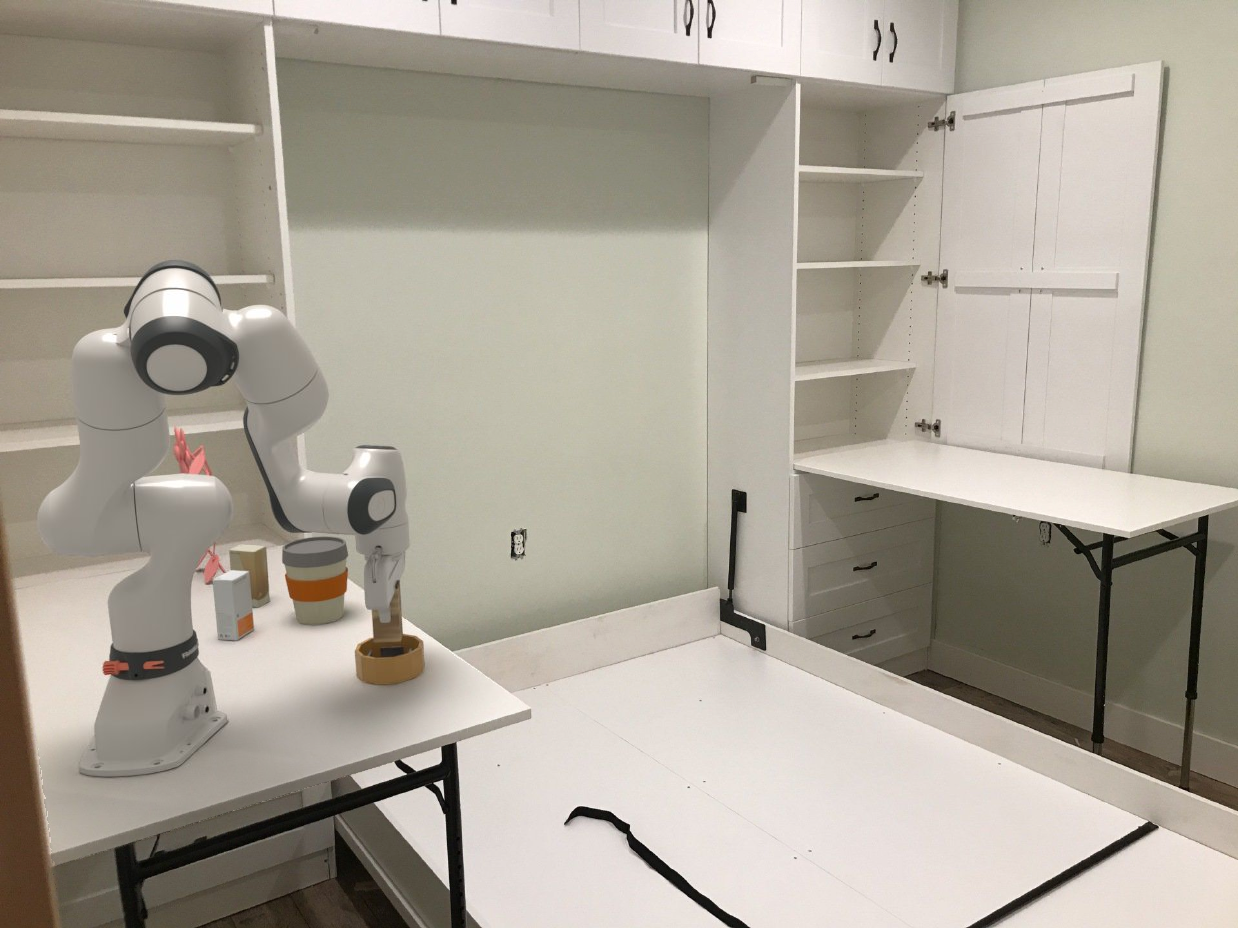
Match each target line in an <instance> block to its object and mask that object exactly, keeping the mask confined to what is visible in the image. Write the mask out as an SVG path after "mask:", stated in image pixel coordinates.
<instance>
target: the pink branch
mask: <svg viewBox="0 0 1238 928" xmlns="http://www.w3.org/2000/svg"><path fill="white" fill-rule="evenodd" d="M173 431H174V432H173V433H174V436H175V437H174V438H175V441H174V444H173V445H174V447H173V455H174V457H175V460H176V461H177V463H178V466H179V471H180V473H179V474H181V473H185V474H199V475H201V472H204V473H205V475H208V476H214V475H213V473H212V471H211V469H210V465H209V463H208V461H207V458H206V454H205V450H204V449H205V447H204V446H203V445H200V446H199V448H197V449H196V450H195V451H194V452H193V453H192V452H191V450H190V448H189V446H188V445H187V438H186V434H185V431H184V430H183V428H181V427H180V429H178V427H177V426H174V430H173ZM204 466H205V467H204ZM211 547H212V545H211V546H210V547H209V548H208V550H207V551H206V552H205V553H204V555H203V556H202V558H201V559H200V561H199V563H198V565H197V567H196V569H197V568H198V567H200V565H201V563H202V562H203V561H204V559H205V558H206V556H207V554H209V555H210V557H209V559H208V560H207V562H206V564H205V567H204V572H203V573H204V581H205V584H209V583H210V582H211V581H212V580H213V578H214V577H215V575H216V574H217V572H218V571H219V569H220V570H221V572H222V574H224V573H227V572H226V570H225V569H224V567H223V566H222V565H221V563H220V557H219V555H218V554H216V552H215V551H216V542H214V543H213V550H212V551H211V550H210V549H211Z"/></svg>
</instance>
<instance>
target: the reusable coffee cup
mask: <svg viewBox="0 0 1238 928" xmlns="http://www.w3.org/2000/svg"><path fill="white" fill-rule="evenodd" d="M347 546H348V545H347V542H346V540H345V539H344V538H342V537H337V536H328V535H327V536H324V535H323V536H311V537H303V538H299V539H296V540H293V541H292V540H291V541H289V542H287V543H285V544H284V545H283V546H282V548H281V549H282V552H281V553H282V555H281V556H282V557H281V561H282V564H283V565H284V568H285V575H284V578H285V582H286V587H287V591H288V595H289V598H290V599H291V600H292V602H293V607H294V612H295V616H296V620H297V622H298V623H299V624H302V625H309V626H310V625H313V626H314V625H315V626H316V625H325V624H330V623H333V622H337V621H338V620H340V619H341V618H343V616H344V611H345V609H344V607H345V593H347V591H348V575H349V569H348V567H347V558H348V556H349V552H348V547H347Z"/></svg>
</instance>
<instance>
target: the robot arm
mask: <svg viewBox="0 0 1238 928" xmlns="http://www.w3.org/2000/svg"><path fill="white" fill-rule="evenodd" d="M123 315H124V316H125V318H126V319H125V321H124V323H123V324H122V325H120V326H117V327H111V328H103V329H98V330H93V331H92V332H89V333H87V334H86V335H84V336H82V337H81V339H79V340H78V341H77V343H76V344H75V346H74V348H73V350H72V356H71V368H70V372H71V373H70V374H71V375H70V376H71V377H70V378H71V379H70V381H71V396H72V403H73V408H74V415H75V419H76V424H77V429H78V438H79V439H78V441H79V449H80V450H79V460H78V462H77V465H76V467H75V469H74V470H73V472H72V473H71V475H70V476H69V477H68V478H67V479H66V480H65V481H64V482H63V483H62V484H60V485H59V486H57V487H56V488H54V489H53V490H52V489H51V491H50V492H49V493H47V495H46V496H45V497H44V499H43V501H42V502H41V504H40V506H39V508H38V512H37V518H36V525H37V526H36V527H37V530H38V534H39V537H40V538H41V540H42V542H43V543H44V545H45V546H46V547H47V548H48V549H49V550H50V551H52V552H53V554H55V555H57V556H62V557H63V556H64V557H76V558H79V557H80V558H100V557H107V556H109V557H110V556H116V555H118V556H119V555H124V554H125V555H126V554H134V553H135V554H136V553H141V552H142V553H148V555H150V558H149V560H148V562H147V563H146V564H145V565H144V566H143V567H141V568H139V569H138V570H136V571H134V572H132V573H131V574H129V575H127V576H126V577H125V578H122V579H121V580H120V581H119V582H118V583H117V584H116V585H114V586H113V588H112V590H111V591H110V593H109V595H108V598H107V609H108V617H109V624H110V625H109V626H110V632H111V640H112V643H111V644H110V646H109V647H110V650H109V655H108V656H109V657H108V660H105V661H104V662H103V663H102V674H103V675H104V676H109V678H108V681H107V684H106V687H105V690H104V693H103V696H102V699H101V701H100V705H99V709H98V711H97V714H96V718H95V722H94V725H93V730H94V731H93V733H94V734H93V736H92V738H91V740H90V742H89V744H88V746H87V748H86V749H85V752H84V754H83V756H82V757H81V760H80V762H79V764H78V773H80V774H83V775H87V776H92V777H125V776H138V775H139V776H140V775H147V774H153V773H159V772H162V771H167V770H171V769H173V768H177V767H180V765H182V764H183V763H185V761H186V760H188V759H189V758H190V757H191V756H192V755H193V754H194V753H195V752H197V751H198V749H199V748H200V747H202V746H203V745H204V744H205V743H206V742H207V741H208V740H209V739H211V737H213V736H214V734H215V733H217V732H218V731H219V730H220V729H221V728H222V727H223V726H224V725H225V724H226V723H228V721H229V720H228V715H227V713H225V712H223V711H221V710H218V707H217V706H218V705H217V700H216V696H215V690H214V683H213V679H212V673H211V671H210V670H209V669H208V668H207V667H206V666H205V665H204V664H203V663H202V662H201V660H200V659H199V654H200V649H199V639H198V636H197V631H196V630H195V629H194V626H193V625H194V624H193V618H192V617H193V615H192V585H193V584H192V583H193V578H194V575H195V572H196V569H197V568H198V567H197V565H198V563H199V561H200V559H201V558H202V556H203V555H204V553H205V552H206V551H207V550H208V548H209V547H210V546H211V547H212V545H214V542H215V543H216V542H217V541H218V540H220V539H221V538H222V537H223V536H224V534H225V533H226V532H227V531H228V529H229V527H230V525H231V523H232V520H233V516H234V502H233V498H232V495H231V493H230V491H229V489H228V487H227V486H226V485H225V484H224V483H223V482H222V481H221V480H220V479H219V478H218V477H216V476H214V475H213V476H208V475H206V474H185V473H172V474H164V475H163V474H162V475H161V474H160V475H151V476H147V475H150V474H152V473H153V472H154V471H155V470H157V469H158V467H159V466H160V465H161V464H162V463H163V462H164V460H165V459H166V457H167V456H168V454H169V451H170V448H171V444H172V443H171V435H170V427H169V420H168V413H167V406H166V405H167V404H166V397H165V395H168V396H169V395H170V396H187V395H193V394H196V393H199V392H203V391H205V390H208V389H209V388H212V387H221V386H224V385H225V384H226V383H227V382H228V381H229V380H230V379H232V380H233V382H234V383H235V386H236V387H237V389H238V390H239V392H240V394H241V396H242V398H243V399H244V401H245V403H246V406H247V407H246V408H245V409H244V413H243V416H242V418H243V419H242V422H243V423H242V424H243V429H244V433H245V436H246V440H247V442H248V445H249V447H250V450H251V453H252V455H253V458H254V460H255V462H256V465H257V467H258V469H259V473H260V475H261V477H262V480H263V482H264V484H265V488H266V490H267V493H268V496H269V503H270V508H271V512H272V515H273V517H274V519H275V520H276V522H277V523H278V524H279V526H280V527H281V528H282V529H283V530H284V531H286V532H288V533H291V534H302V533H303V534H304V533H309V534H310V533H317V534H318V533H320V534H328V535H329V534H330V535H345V536H355V538H354V539H355V549H356V552H357V553H358V554H361V555H364V561H366V562H365V564H364V569H363V582H364V583H363V584H364V587H363V588H364V590H363V591H364V604H365V607H366V609H367V610H369V611H372V610H378V612H379V618H380V622H381V623H388V622H390V620H391V618H392V615H391V610H390V602H391V600H392V597H393V595H394V593H395V585H396V583H397V581H398V580H400V581H401V579H402V578H403V574H404V573H405V566H406V551H407V550H408V549H410V547H411V541H410V539H411V538H410V526H409V525H410V524H409V516H408V514H407V509H406V500H407V496H408V495H407V493H408V492H407V481H406V472H405V467H404V462H403V458H402V454H401V453H400V452H401V451H400V450H399V449H397V448H396V447H394V446H391V445H378V444H377V445H374V444H373V445H370V444H363V445H362V444H361V445H358V446H356V447H353V450H352V457H351V464H350V465H349V466H348V468H346V469H345V470H344V471H342V473H331V472H329V473H328V472H317V471H313V470H309V469H308V468H305V467H303V466H302V465H300V464H299V462H298V461H299V460H298V459H297V456H296V454H295V451H294V448H293V445H292V442H291V440H290V439H292V438H296V437H298V436H300V435H302V434H305V433H306V432H308V431H309V430H310V429H311V428H312V427H314V425H316V423H318V422H319V420H320V419H321V418H322V416H323V415H324V413H325V411H326V409H327V406H328V402H329V397H330V394H329V387H328V384H327V380H326V378H325V376H324V373H323V371H322V370H321V367H320V366H319V363H318V362H317V361H316V359H315V357H314V354H313V353H312V351H311V349H310V348H309V346H308V344H307V343H306V341H305V340H304V339H303V337H302V336H301V334H300V333H299V331H298V330H297V328H296V327H295V325H294V324H293V323H292V322H291V321H290V320H289V319H288V317H287V316H286V315H285V314H284V313H283V312H282V311H281V310H280V309H278V308H276V307H274V306H271V305H267V304H254V305H249V306H246V307H243V308H240V309H238V310H237V309H236V310H233V309H232V310H230V309H226V308H223V309H222V298H221V294H220V291H219V288H218V287H217V285H216V283H215V281H214V279H213V278H212V277H211V276H210V275H209V274H208V272H206V270H205V269H203V268H201V267H200V266H199V265H197V264H196V263H192V262H191V261H186V260H180V259H169V260H164V261H161V262H159V263H156V264H155V265H153V266H152V267H150V268H149V269H148V270H147V271H146V272H145V273H144V274H143V276H142V277H141V278H140V280H139V281H138V283H137V284H136V286H135V288H134V290H133V292H132V293H131V296H130V298H129V299H128V301H127V303H126V304H125V306H124V309H123ZM226 376H227V377H226ZM224 378H225V379H224ZM223 379H224V380H223ZM211 547H210V548H211ZM196 567H197V568H196ZM375 582H376V583H375Z"/></svg>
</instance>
